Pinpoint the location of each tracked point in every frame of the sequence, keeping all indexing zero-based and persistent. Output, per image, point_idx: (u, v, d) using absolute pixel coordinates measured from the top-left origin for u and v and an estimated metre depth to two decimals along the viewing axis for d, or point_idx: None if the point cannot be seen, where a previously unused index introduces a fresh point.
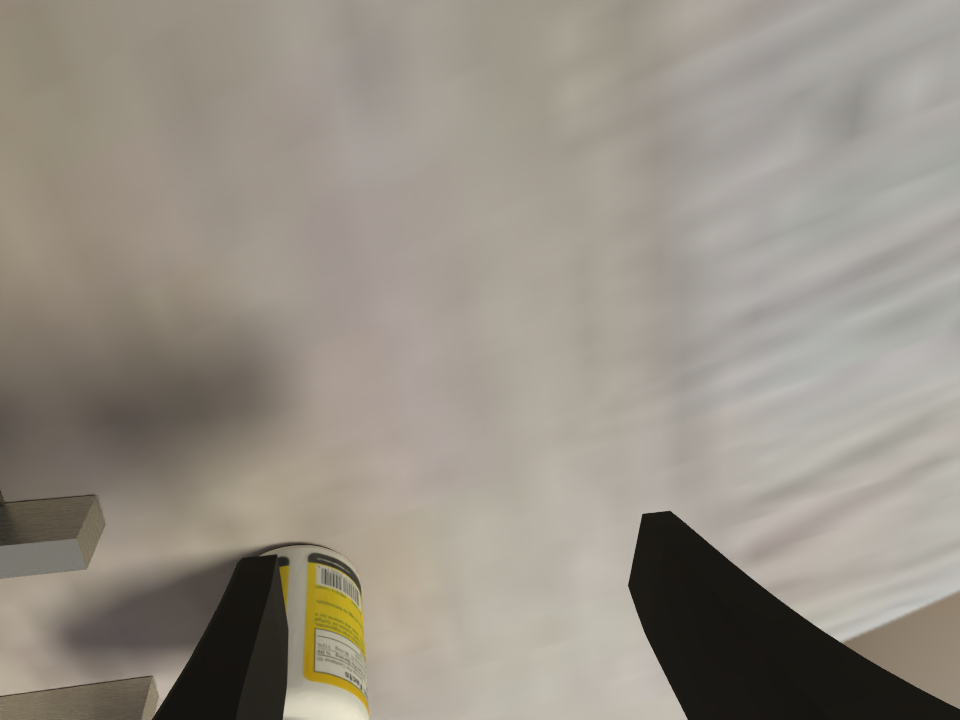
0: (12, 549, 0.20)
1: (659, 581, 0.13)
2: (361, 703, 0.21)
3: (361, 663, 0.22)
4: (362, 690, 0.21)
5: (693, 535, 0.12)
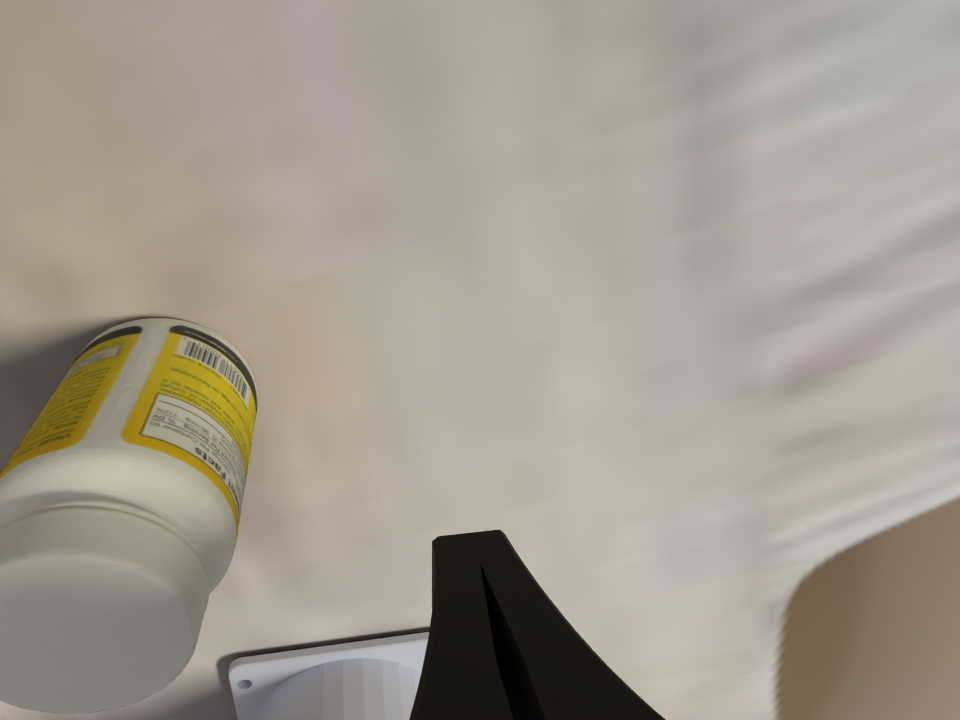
0: None
1: None
2: (218, 492, 0.14)
3: (231, 453, 0.15)
4: (225, 480, 0.14)
5: (511, 556, 0.12)
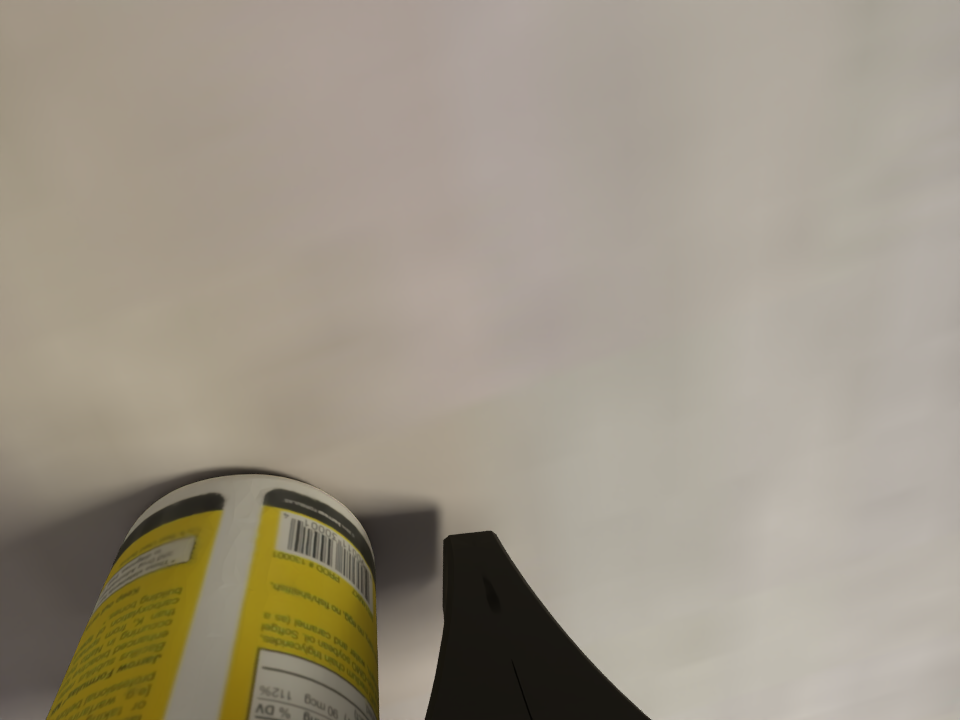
0: None
1: None
2: None
3: None
4: None
5: (502, 557, 0.12)
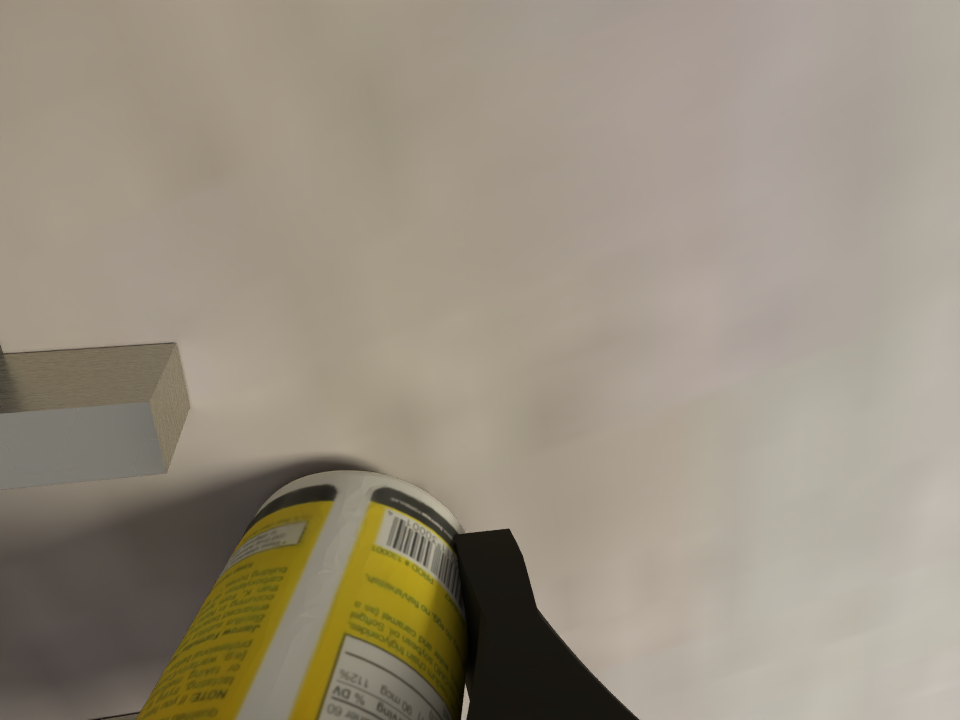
0: (17, 423, 0.10)
1: None
2: None
3: None
4: None
5: (494, 558, 0.12)
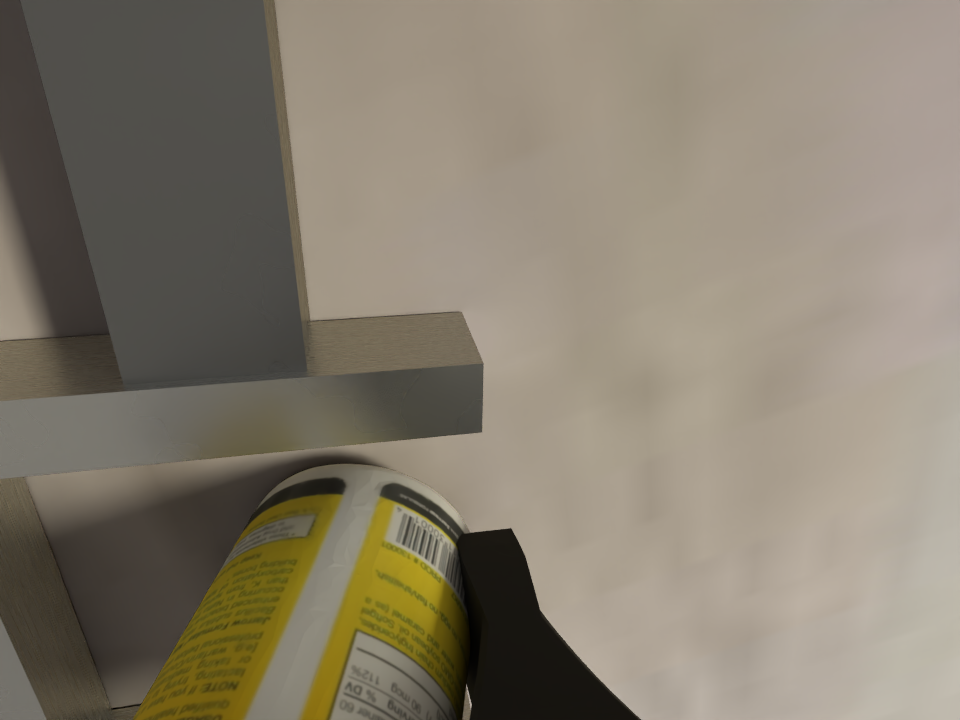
0: (368, 382, 0.10)
1: None
2: None
3: None
4: None
5: (495, 558, 0.12)
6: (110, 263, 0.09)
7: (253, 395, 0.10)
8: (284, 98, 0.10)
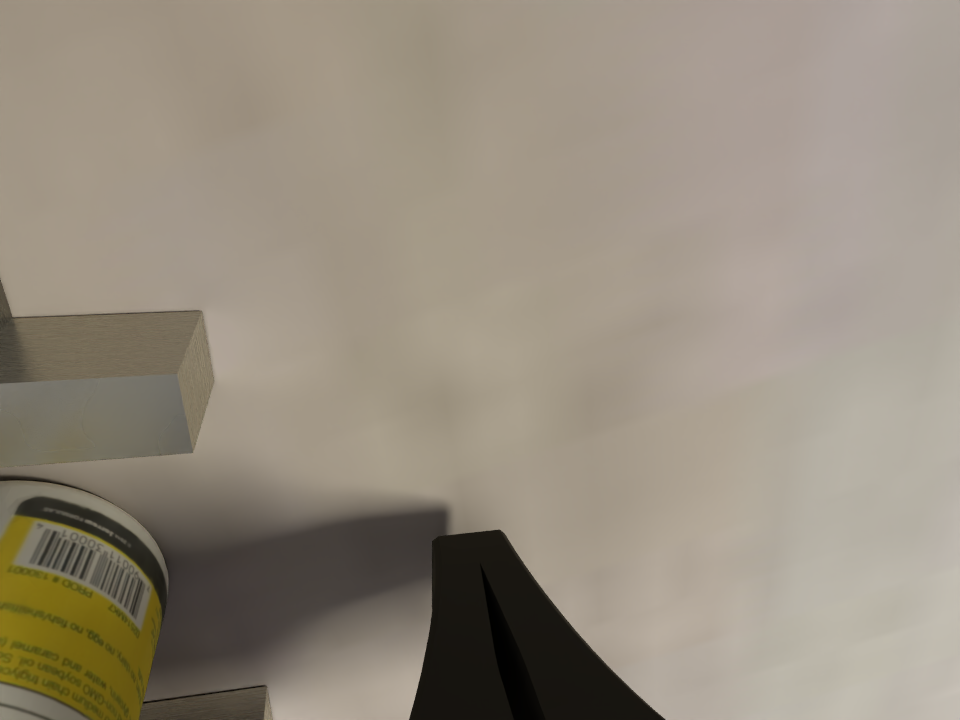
0: (31, 394, 0.09)
1: None
2: None
3: None
4: None
5: (511, 556, 0.12)
6: None
7: None
8: None
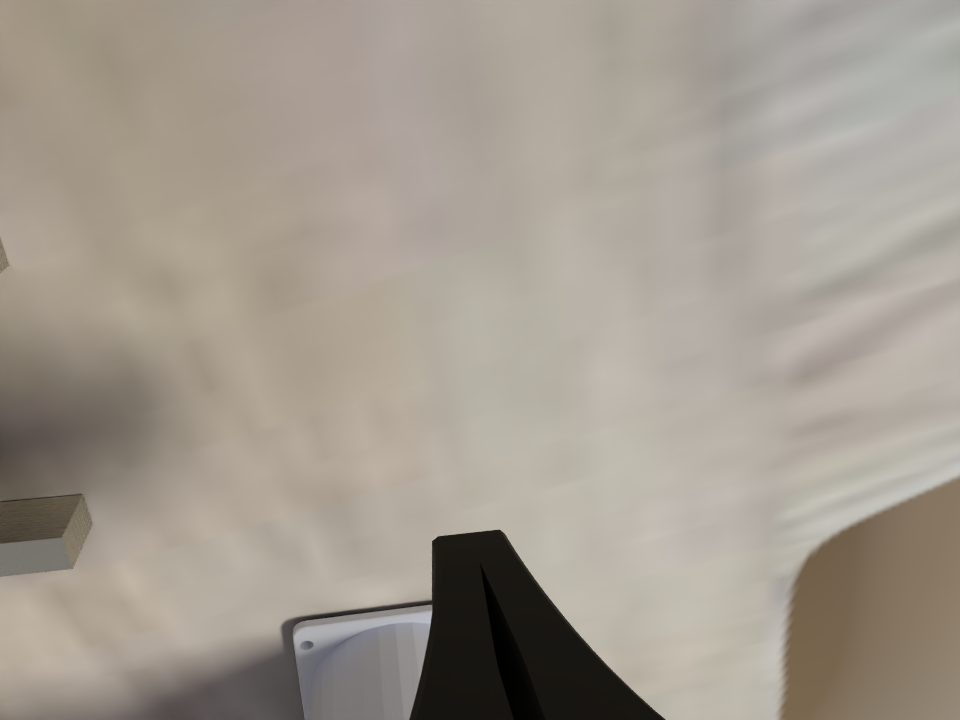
0: None
1: None
2: None
3: None
4: None
5: (511, 556, 0.12)
6: None
7: None
8: None
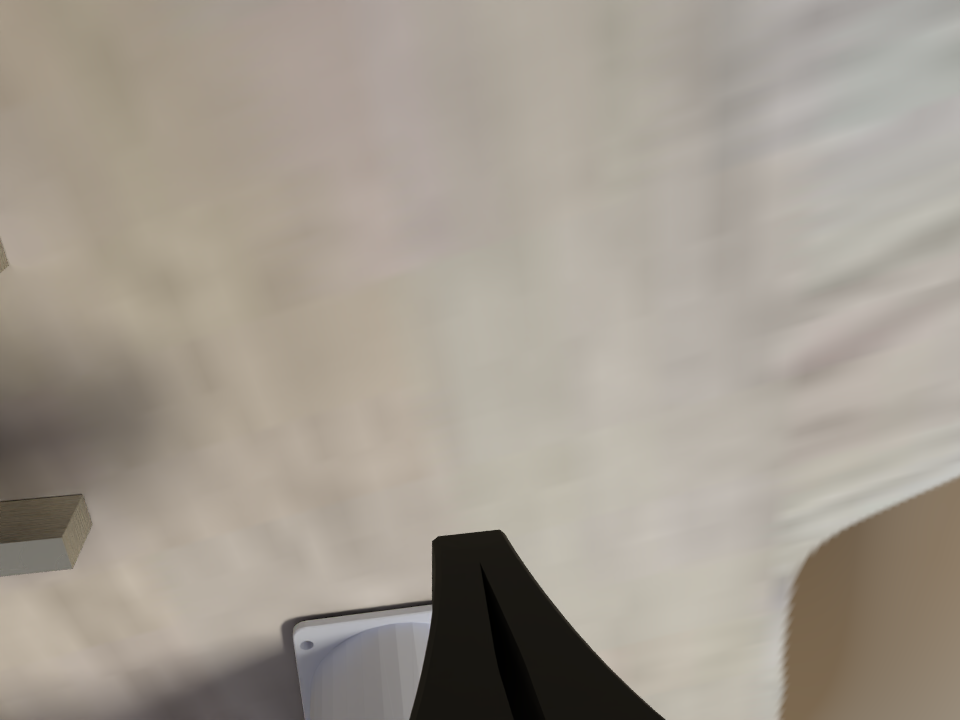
0: None
1: None
2: None
3: None
4: None
5: (511, 556, 0.12)
6: None
7: None
8: None
